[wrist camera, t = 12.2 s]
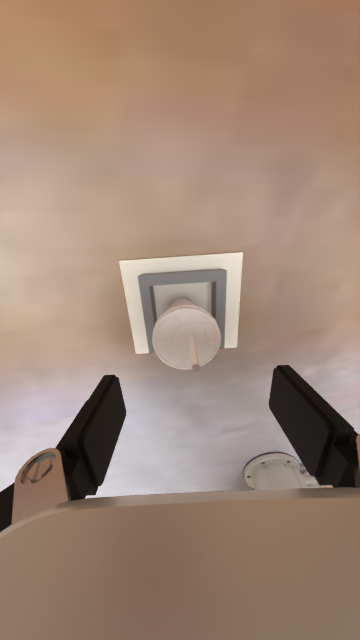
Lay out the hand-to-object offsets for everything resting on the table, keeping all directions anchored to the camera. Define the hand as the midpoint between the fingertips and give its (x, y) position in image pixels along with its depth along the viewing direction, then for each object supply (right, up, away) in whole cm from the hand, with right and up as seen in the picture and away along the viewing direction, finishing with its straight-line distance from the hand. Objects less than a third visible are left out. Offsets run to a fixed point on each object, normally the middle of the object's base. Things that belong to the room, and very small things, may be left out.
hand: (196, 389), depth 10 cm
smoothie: (0, +6, +14) cm, 16 cm away
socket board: (0, +6, +15) cm, 16 cm away
